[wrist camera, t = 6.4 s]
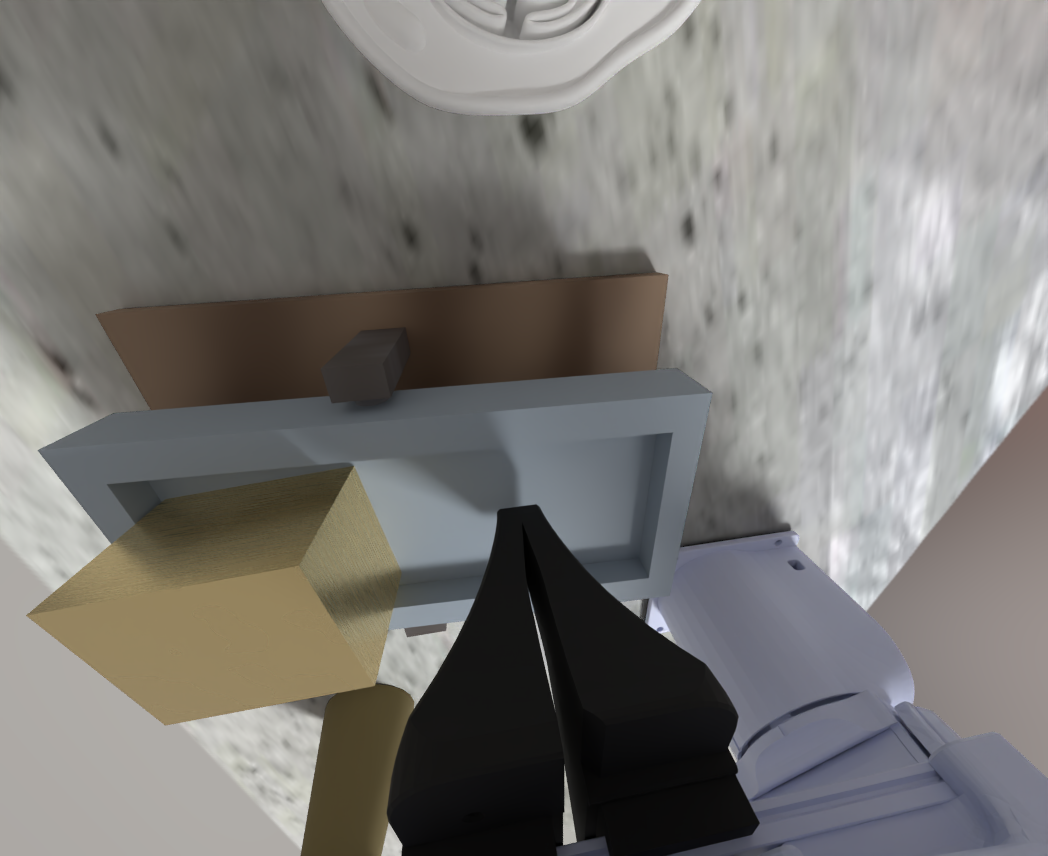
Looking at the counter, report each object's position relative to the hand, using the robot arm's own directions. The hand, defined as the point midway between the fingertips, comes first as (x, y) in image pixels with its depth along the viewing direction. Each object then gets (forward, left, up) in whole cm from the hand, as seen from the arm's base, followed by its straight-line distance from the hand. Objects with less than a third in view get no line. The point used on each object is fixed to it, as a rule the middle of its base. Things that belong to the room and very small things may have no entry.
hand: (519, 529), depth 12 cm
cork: (+11, +21, -6) cm, 25 cm away
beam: (+3, 0, -2) cm, 4 cm away
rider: (+8, 0, -1) cm, 8 cm away
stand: (+4, 0, -6) cm, 7 cm away
